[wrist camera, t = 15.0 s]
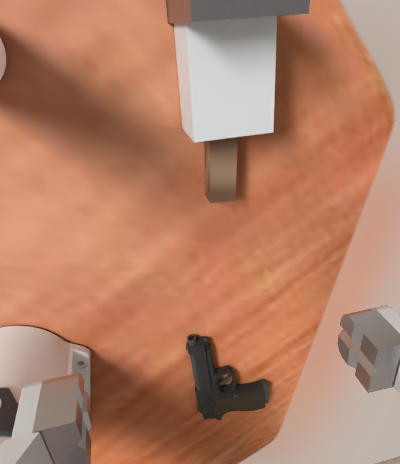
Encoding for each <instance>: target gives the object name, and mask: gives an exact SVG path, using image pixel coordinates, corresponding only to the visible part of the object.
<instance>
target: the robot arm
mask: <svg viewBox="0 0 400 464" xmlns="http://www.w3.org/2000/svg"><path fill="white" fill-rule="evenodd" d="M340 325H341V326H342V328H343V330H342V331H341V333H340V334H339V336H338V346H339V351H340V353H341V355H342V357H343V359H344V360H345V362H346V363H347V364H348V365H350V366H351V367H353V368H355V369H356V373H355V375H356V377H357V378H358V380H359V381H360V382H361V384H362V385H363V386H364V388H365V389H366V390H367V392H368V393H369V392H373V391H378V390H382V389H386V388H391V387H394V389H395V390H397V391H398V392H400V315H399V314H398V313H397V312H396V311H395V310H394V309H392V308H391V307H390V306H387V305H385V306H381V307H377V308H372V309H368V310H363V311H359V312H355V313H350V314H346V315H343V317H342V318H341V322H340ZM80 361H82V362H80ZM91 426H92V414H91V353H90V350H89V349H88V348H86V347H84V346H80V345H76V344H72V343H68V342H66V341H64V340H63V339H61V338H60V337H58V336H56V335H55V334H53V333H51V332H48V331H46V330H43V329H39V328H35V327H29V326H8V327H1V328H0V464H91V439H90V436H89V433H88V431H89V429H90V428H91ZM376 464H400V456H399V457H396V458H393V459H389V460H386V461H382V462H379V463H376Z"/></svg>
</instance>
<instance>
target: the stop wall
mask: <svg viewBox="0 0 400 464" xmlns="http://www.w3.org/2000/svg"><path fill="white" fill-rule="evenodd" d="M309 4H310V0H166V5H167V16H168V24H170V23H184V22H198V21H212V20H226V19H240V18H254V17H268V16H282V15H295V14H309Z"/></svg>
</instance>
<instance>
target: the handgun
mask: <svg viewBox="0 0 400 464" xmlns="http://www.w3.org/2000/svg"><path fill="white" fill-rule="evenodd" d="M187 340H188V342H187V345H186V350H188V353H189V354H190V356H191V362H192V367H193V373H194V378H195V384H196V387H195V391H196V396H197V402H198V406H197V409H198V411H200V413H202V414H203V417H204V419H207V418H210V419H214V418H216V419H218V420H221V417H222V416H223V415H224V414H225V413H226V412H230V411H253V410H258V409H262V408H264V407H265V404H266V403H268V392H269V389H268V386H267V384H266V382H265V380H264V379H262V380H259V381H256V382H252V383H247V384H236V378H235V375H234V373H233V371H232V369H231V368H230V367H229V366H225V367H222V368H218V369H215V368H214V366H213V360H212V353H211V347H210V344H209V342H208V338H207V337H197V338H196V337H195V335H189V336H188V337H187ZM225 374H228V376H227V377H226V378H225V379H223V380H220V381H219V378H220V377H221V376H222V375H225ZM230 375H232V382H231V383H230V384H229V385H223V384H225V383H226V382H227V381H228V380H229V379H230ZM221 385H223V386H221Z"/></svg>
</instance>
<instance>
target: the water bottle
mask: <svg viewBox="0 0 400 464" xmlns="http://www.w3.org/2000/svg"><path fill="white" fill-rule="evenodd" d="M5 68H6V52H5V48H4V45H3V42H2V40H1V38H0V80H1V78H2V76H3V74H4V72H5Z"/></svg>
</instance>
